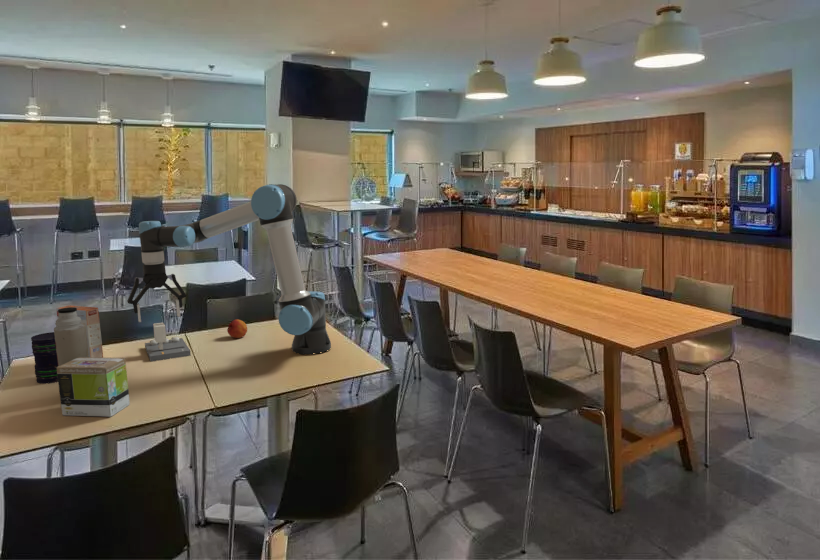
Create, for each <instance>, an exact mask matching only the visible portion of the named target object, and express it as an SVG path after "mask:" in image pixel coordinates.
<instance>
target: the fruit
mask: <svg viewBox="0 0 820 560" xmlns="http://www.w3.org/2000/svg"><path fill="white" fill-rule="evenodd" d="M227 326H228V327H227V329H226V331H227V334H228V335H229V336H230V337H232V338H235V339H241V338H244V337H245V336H246V335H247V332H248V326H247V324H246V323H245V321H243V320H241V319H238V318H237V319H233V320H232V321H230V322H229V324H228V325H227Z"/></svg>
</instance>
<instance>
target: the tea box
mask: <svg viewBox="0 0 820 560" xmlns="http://www.w3.org/2000/svg"><path fill="white" fill-rule="evenodd" d="M56 368H57V376H58V382H57V383H58V384H57V385H58V391H59V393H58V394H59V400H60V407H61V413H62V416H71V417H72V416H73V417H74V416H78V417H81V416H82V417H108V418H110V417H112V416H115V415H116V414H118V413H119V412H121V411H122V410H123V409H125V408H127V407H128V406H130V391H129V381H128V373H127V371H128V370H127V364H126V358H125V357H103V358H97V357H96V358H95V357H79V358H76V359H74V360H72V361H70V362H67V363H65V364H63V365H61V366H58V367H56Z"/></svg>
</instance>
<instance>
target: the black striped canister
mask: <svg viewBox="0 0 820 560" xmlns="http://www.w3.org/2000/svg"><path fill="white" fill-rule="evenodd" d="M30 341H31V349H32V355H33V356H34V357H33V359H34V375H35V378H36V380H35V381H36V383H37V384H42V385H43V384H44V385H45V384H46V383H48V384H55V382H56V383H58V376H57V368H56V367H58V360H57V352H56V343H55V335H54V331H53V332H52V331H51V332H50V331H49V332H43V333H38V334H35V335H33V336H31V338H30ZM46 385H47V384H46Z"/></svg>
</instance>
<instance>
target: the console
mask: <svg viewBox="0 0 820 560" xmlns="http://www.w3.org/2000/svg"><path fill="white" fill-rule="evenodd" d="M144 348H146V349H145V351H146V354H147V356H148V359H149V361H150V362H157V361H156V360H158V361H163V359H164V360H169V359H170V358H171V359H176V358H183V357H190V356H192V355H191V349H190V348H189V346H188V345H187V343H186V342H185V340H184V339H183V338H182V337H180V336H174V337H171V339H169V338H167V337H166V342H163V350H160V349H159V342H158V343H156V341H155V339H151V340H150V341H149V342H144Z"/></svg>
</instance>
